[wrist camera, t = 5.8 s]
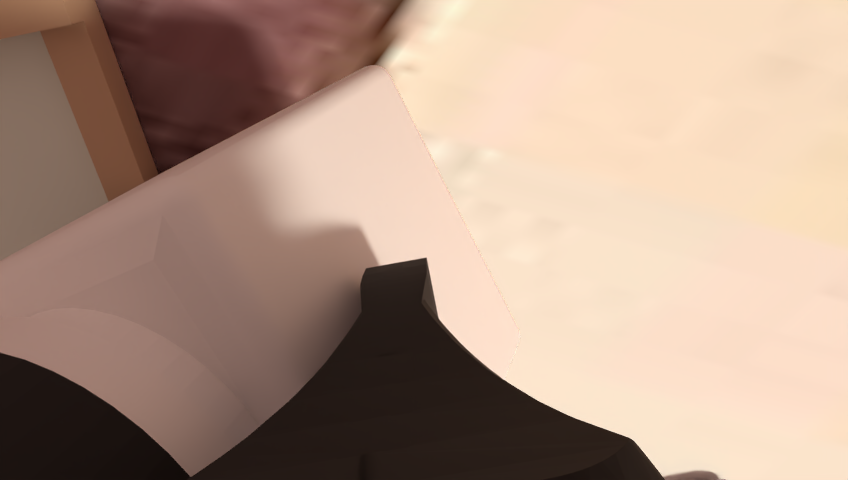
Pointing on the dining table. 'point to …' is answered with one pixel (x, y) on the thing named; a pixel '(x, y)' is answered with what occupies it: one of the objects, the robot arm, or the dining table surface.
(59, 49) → the wooden serving tray
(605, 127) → the dining table surface
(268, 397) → the medicine bottle
